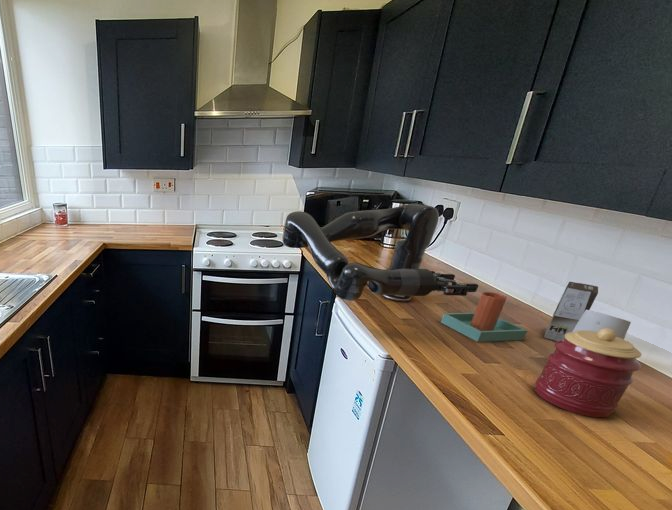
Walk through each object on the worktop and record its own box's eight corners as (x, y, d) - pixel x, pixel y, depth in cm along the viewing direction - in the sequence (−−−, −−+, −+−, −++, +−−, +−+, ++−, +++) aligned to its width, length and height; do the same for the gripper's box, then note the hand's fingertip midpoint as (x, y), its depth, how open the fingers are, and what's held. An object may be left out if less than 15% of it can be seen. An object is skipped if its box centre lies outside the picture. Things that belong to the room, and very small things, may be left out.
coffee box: (572, 345, 115) (599, 293, 108) (543, 337, 119) (567, 287, 113) (573, 336, 121) (599, 286, 114) (545, 329, 125) (568, 280, 118)
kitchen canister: (627, 413, 85) (673, 339, 78) (586, 423, 81) (631, 346, 74) (556, 381, 96) (591, 314, 89) (518, 388, 93) (551, 319, 86)
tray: (440, 322, 127) (443, 313, 126) (483, 320, 130) (486, 312, 128) (477, 341, 115) (481, 332, 114) (523, 339, 117) (527, 330, 116)
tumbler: (464, 326, 124) (477, 292, 119) (478, 324, 125) (491, 291, 121) (484, 334, 119) (498, 299, 114) (497, 332, 120) (511, 298, 116)
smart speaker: (615, 364, 105) (643, 315, 100) (600, 372, 101) (629, 321, 96) (569, 348, 113) (592, 302, 107) (554, 355, 109) (577, 307, 103)
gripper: (390, 286, 119) (442, 287, 120) (422, 304, 106) (479, 304, 107) (397, 262, 116) (450, 262, 117) (430, 277, 103) (490, 278, 104)
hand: (464, 282), depth 112 cm, fingers open, 8 cm apart
